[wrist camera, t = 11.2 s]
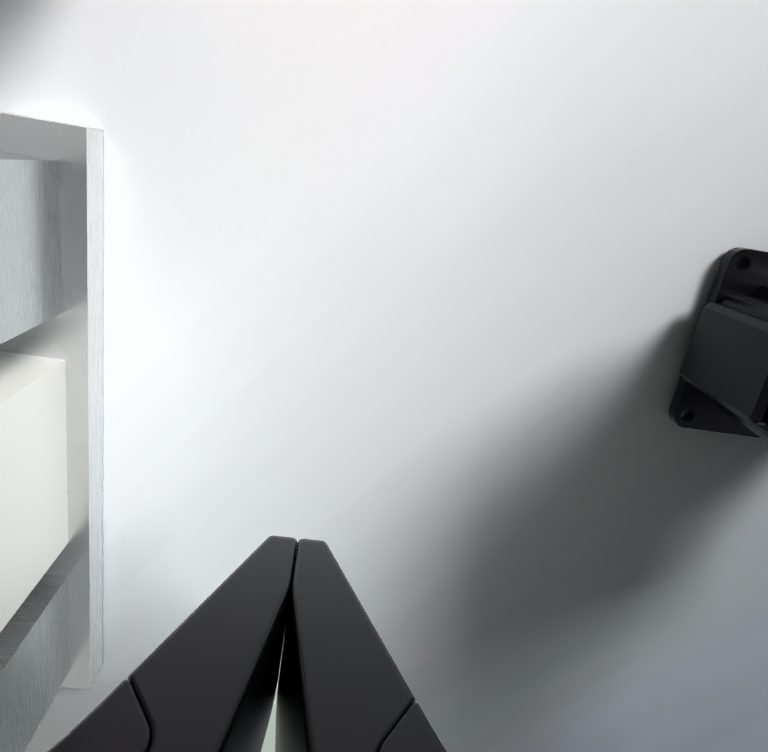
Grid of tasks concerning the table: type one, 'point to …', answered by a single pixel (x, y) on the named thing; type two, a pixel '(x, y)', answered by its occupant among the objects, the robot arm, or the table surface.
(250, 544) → the table surface
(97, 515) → the rail
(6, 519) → the block
